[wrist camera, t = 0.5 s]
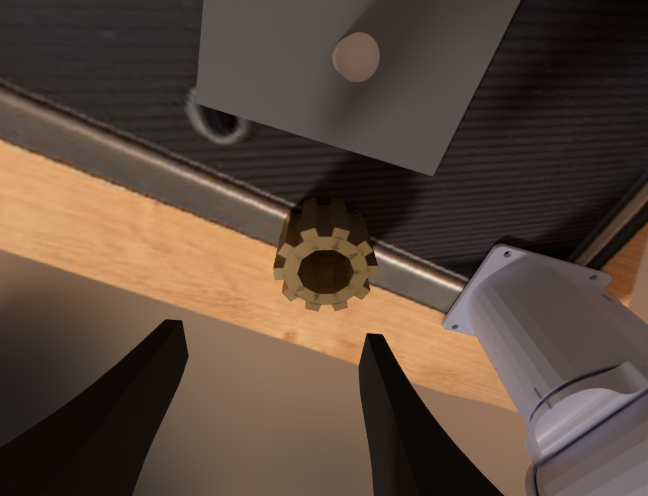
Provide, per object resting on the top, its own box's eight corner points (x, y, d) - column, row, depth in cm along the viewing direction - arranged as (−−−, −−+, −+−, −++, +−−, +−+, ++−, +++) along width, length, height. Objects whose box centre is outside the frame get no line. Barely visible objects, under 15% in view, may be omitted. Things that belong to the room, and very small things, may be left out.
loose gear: (380, 210, 20) (393, 242, 16) (350, 279, 23) (356, 319, 19) (293, 185, 19) (287, 215, 15) (273, 261, 22) (264, 300, 18)
